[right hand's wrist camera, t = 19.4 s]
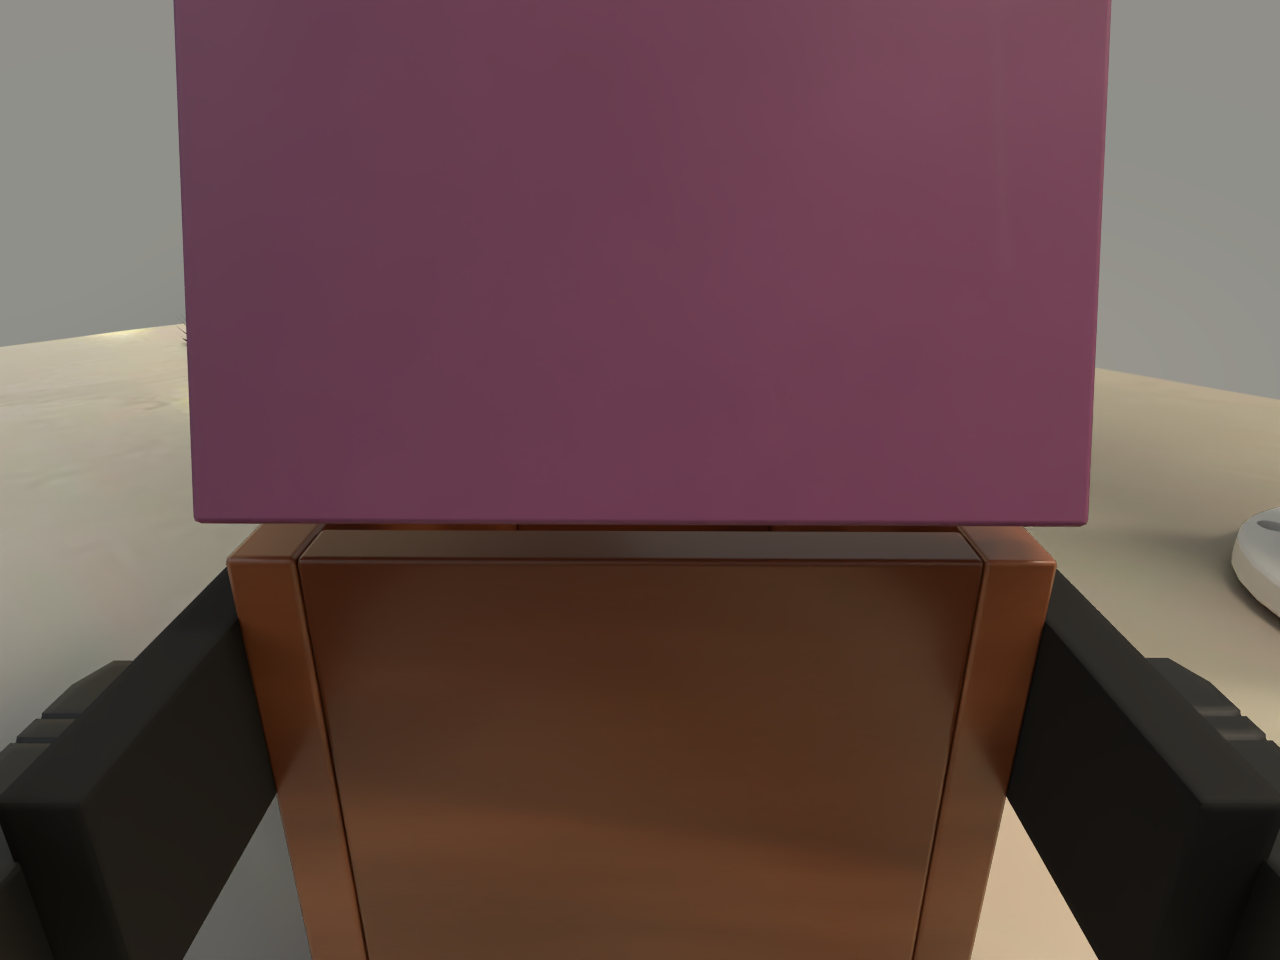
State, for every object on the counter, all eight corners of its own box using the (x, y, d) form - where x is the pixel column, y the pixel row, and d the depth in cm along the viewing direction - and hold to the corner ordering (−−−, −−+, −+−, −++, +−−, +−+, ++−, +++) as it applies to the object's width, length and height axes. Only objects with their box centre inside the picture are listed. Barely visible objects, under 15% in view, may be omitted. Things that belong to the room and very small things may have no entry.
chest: (497, 565, 28) (478, 302, 24) (789, 567, 28) (810, 303, 24) (328, 1054, 13) (221, 558, 10) (951, 1059, 13) (1061, 562, 10)
